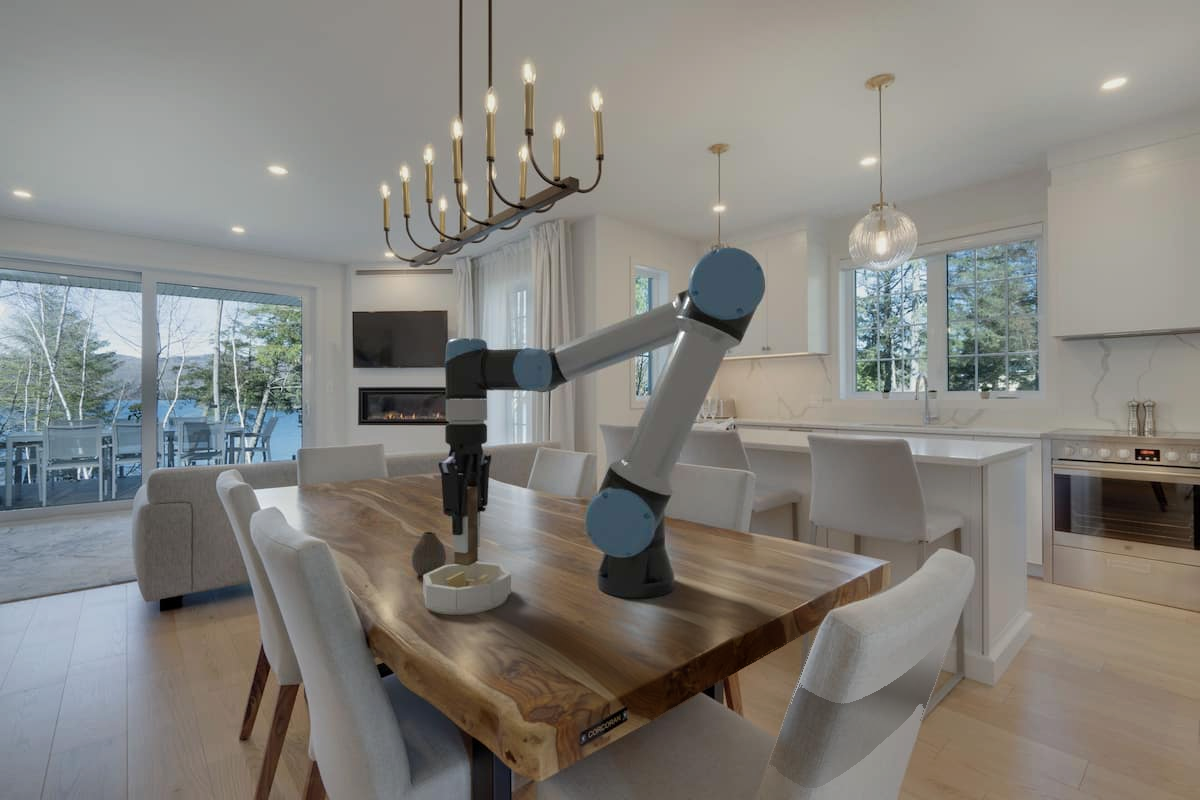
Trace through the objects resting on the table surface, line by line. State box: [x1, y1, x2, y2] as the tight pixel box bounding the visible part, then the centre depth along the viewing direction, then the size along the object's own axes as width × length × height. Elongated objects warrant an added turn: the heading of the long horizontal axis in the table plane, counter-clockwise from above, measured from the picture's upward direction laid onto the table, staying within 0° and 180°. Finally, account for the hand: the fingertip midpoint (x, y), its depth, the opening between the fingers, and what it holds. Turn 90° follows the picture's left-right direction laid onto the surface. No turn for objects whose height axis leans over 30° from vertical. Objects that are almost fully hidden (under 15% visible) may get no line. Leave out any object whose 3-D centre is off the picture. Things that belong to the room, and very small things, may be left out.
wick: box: [453, 486, 479, 566], centre depth 100 cm, size 3×3×14 cm
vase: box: [411, 531, 447, 578], centre depth 114 cm, size 7×7×9 cm
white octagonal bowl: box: [422, 560, 512, 616], centre depth 100 cm, size 15×15×4 cm
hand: (466, 548), depth 100 cm, fingers closed on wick, 3 cm apart
